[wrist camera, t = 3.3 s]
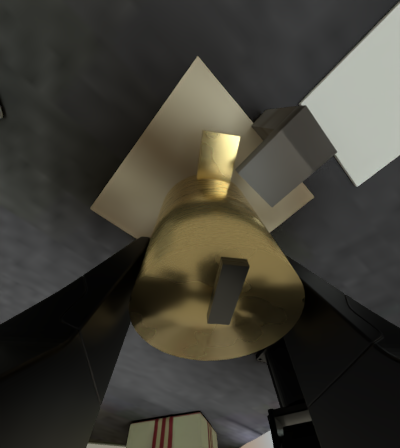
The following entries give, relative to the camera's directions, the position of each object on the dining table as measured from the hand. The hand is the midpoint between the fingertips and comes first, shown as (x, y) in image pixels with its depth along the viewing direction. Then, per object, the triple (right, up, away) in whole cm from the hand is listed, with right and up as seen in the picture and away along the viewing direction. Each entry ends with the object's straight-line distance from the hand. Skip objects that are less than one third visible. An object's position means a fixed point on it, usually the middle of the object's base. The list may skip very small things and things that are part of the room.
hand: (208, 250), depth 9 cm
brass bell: (0, +2, +3) cm, 4 cm away
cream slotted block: (0, +3, +6) cm, 7 cm away
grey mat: (+11, +9, +3) cm, 15 cm away
